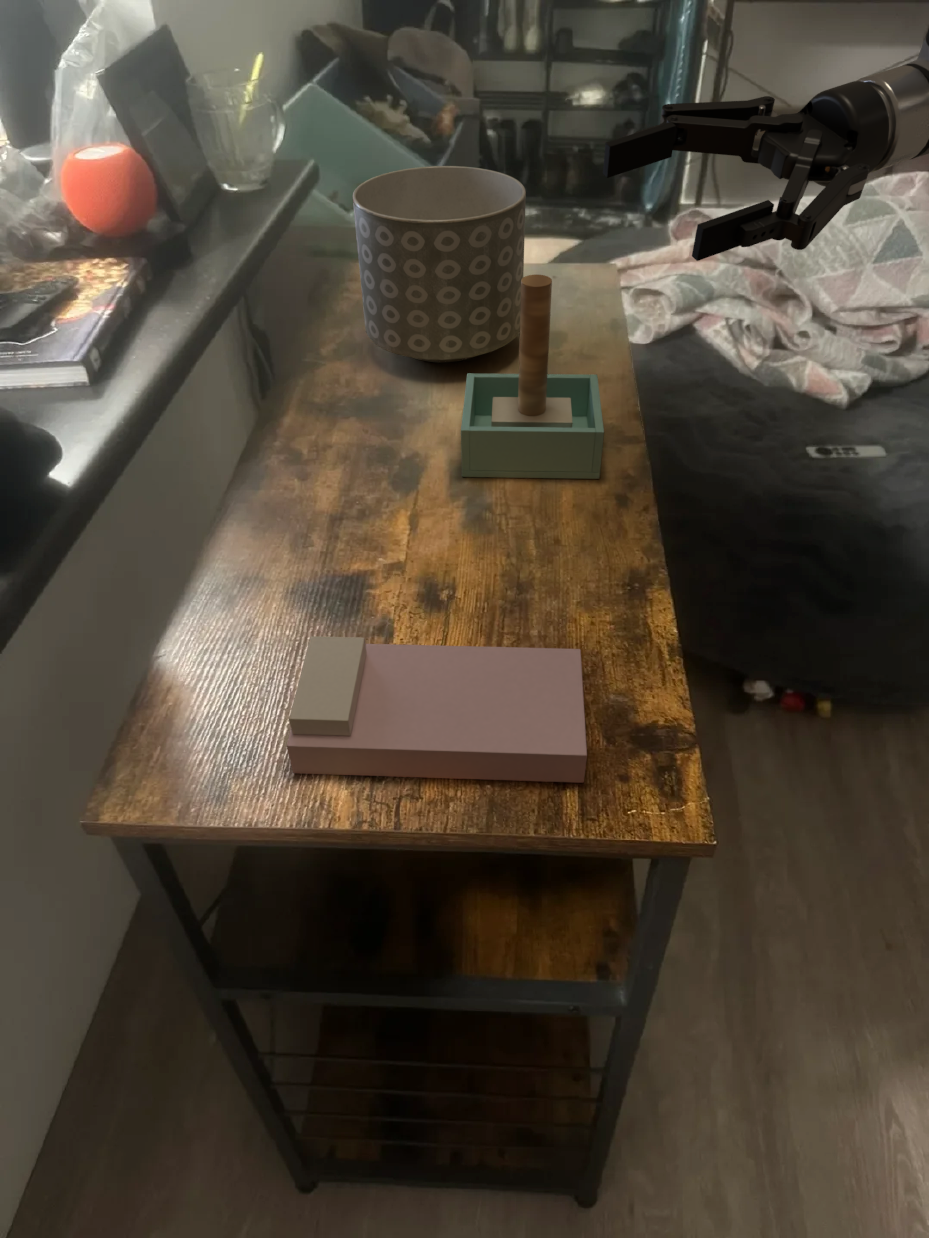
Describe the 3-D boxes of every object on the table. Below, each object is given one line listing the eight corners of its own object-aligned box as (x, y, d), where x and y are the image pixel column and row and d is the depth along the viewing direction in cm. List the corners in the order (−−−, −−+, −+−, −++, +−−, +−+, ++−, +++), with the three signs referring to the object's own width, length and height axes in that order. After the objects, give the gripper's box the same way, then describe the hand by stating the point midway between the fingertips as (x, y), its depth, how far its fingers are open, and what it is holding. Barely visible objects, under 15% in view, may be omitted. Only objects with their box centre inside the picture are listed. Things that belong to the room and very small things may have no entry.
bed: (577, 676, 67) (582, 632, 64) (583, 783, 60) (589, 739, 57) (318, 669, 68) (310, 626, 65) (292, 773, 61) (282, 730, 58)
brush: (568, 428, 92) (579, 269, 81) (570, 453, 89) (582, 291, 78) (492, 427, 93) (493, 269, 82) (491, 452, 89) (491, 291, 78)
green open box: (593, 419, 95) (597, 374, 92) (599, 479, 87) (604, 432, 83) (467, 418, 96) (467, 373, 92) (461, 477, 87) (460, 430, 84)
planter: (524, 316, 115) (528, 166, 103) (518, 386, 101) (522, 221, 89) (380, 313, 116) (368, 165, 104) (355, 382, 102) (337, 219, 90)
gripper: (946, 243, 72) (730, 325, 68) (762, 110, 85) (571, 172, 81) (987, 152, 66) (752, 236, 62) (781, 24, 79) (575, 86, 75)
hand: (649, 200), depth 71 cm, fingers open, 13 cm apart
